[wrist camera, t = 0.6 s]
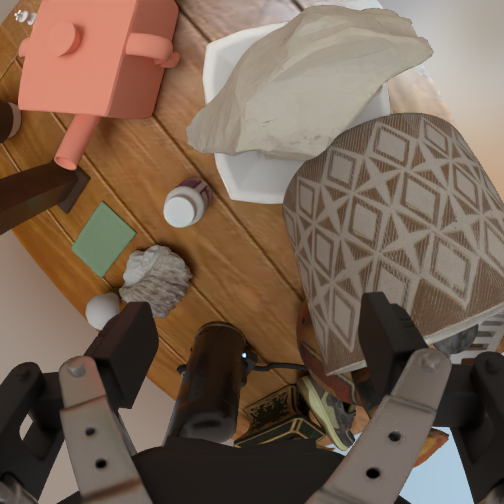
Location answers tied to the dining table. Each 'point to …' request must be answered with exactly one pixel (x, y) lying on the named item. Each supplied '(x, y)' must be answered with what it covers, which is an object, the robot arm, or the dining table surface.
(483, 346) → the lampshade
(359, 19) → the decorative stone
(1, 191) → the stand
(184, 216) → the pill bottle
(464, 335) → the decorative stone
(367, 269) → the planter
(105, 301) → the light bulb
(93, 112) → the teapot
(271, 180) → the bowl
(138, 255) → the seashell
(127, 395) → the robot arm
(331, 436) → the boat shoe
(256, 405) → the decorative box
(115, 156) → the dining table surface
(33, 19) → the chess piece
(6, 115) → the coffee cup
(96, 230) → the mat
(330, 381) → the ceramic pitcher
